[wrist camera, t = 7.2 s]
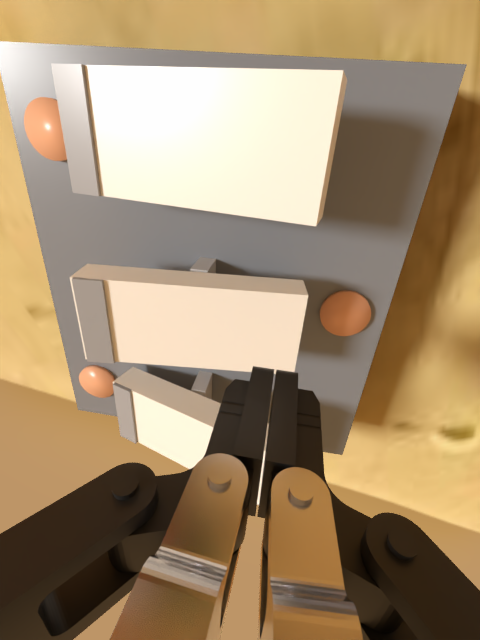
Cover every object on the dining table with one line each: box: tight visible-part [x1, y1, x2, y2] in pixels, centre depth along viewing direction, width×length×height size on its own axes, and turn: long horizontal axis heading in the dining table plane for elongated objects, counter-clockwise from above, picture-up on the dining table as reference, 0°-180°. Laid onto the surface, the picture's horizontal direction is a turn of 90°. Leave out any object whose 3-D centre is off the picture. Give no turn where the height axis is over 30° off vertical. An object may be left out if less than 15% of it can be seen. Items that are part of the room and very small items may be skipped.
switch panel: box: [0, 41, 466, 455], centre depth 18 cm, size 18×20×6 cm
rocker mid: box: [70, 264, 308, 374], centre depth 15 cm, size 10×4×2 cm, turn 86°
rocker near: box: [51, 63, 347, 226], centre depth 11 cm, size 10×4×2 cm, turn 86°
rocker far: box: [113, 367, 269, 505], centre depth 18 cm, size 10×4×2 cm, turn 86°
